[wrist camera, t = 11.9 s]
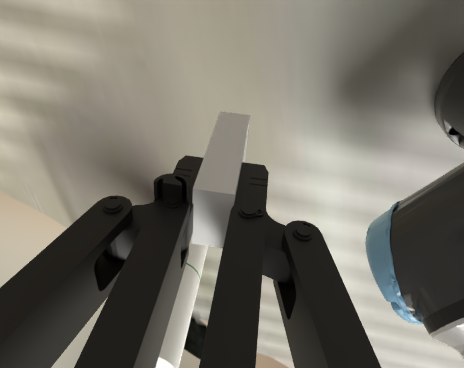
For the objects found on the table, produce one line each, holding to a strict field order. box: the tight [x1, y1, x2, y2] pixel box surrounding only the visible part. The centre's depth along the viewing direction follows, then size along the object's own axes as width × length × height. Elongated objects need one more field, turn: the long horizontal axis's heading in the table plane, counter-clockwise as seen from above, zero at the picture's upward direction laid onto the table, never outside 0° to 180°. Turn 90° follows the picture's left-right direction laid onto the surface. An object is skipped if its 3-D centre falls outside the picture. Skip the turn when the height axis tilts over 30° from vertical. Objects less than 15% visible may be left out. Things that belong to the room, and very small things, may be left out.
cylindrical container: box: [156, 237, 208, 368], centre depth 53 cm, size 7×7×25 cm
